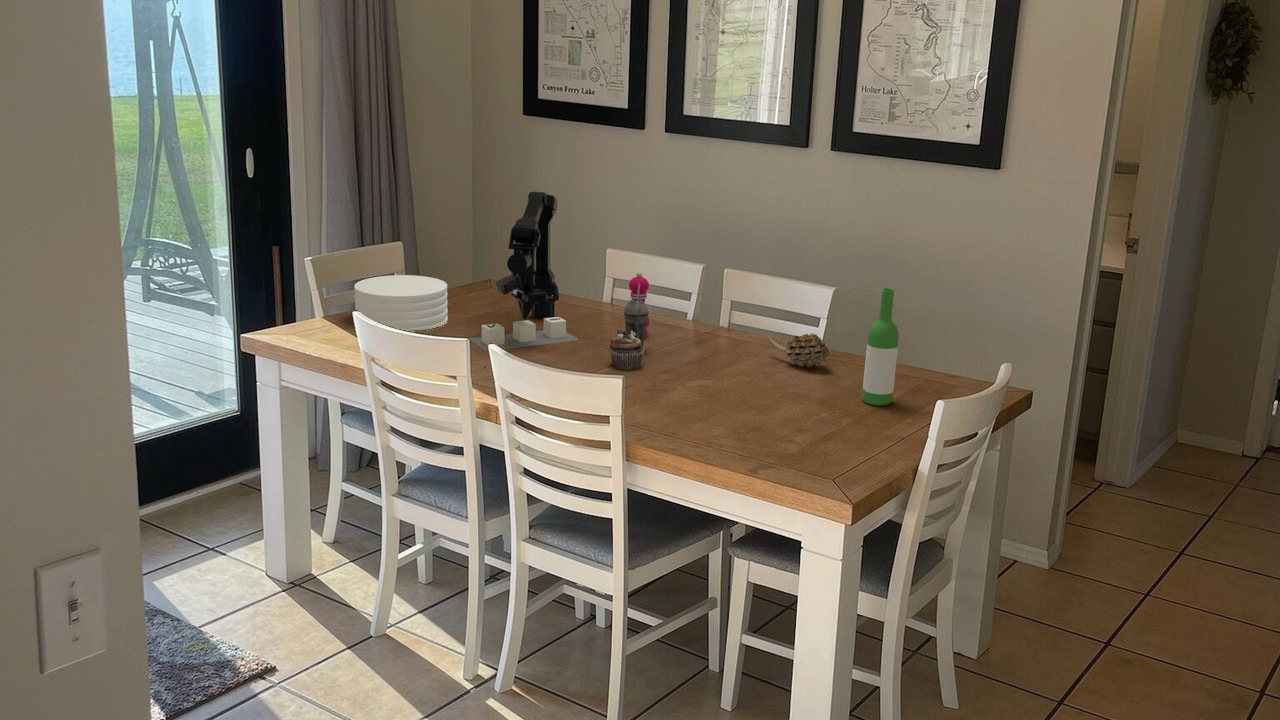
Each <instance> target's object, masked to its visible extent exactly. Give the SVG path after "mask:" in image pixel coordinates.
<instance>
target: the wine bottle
mask: <svg viewBox="0 0 1280 720" xmlns="http://www.w3.org/2000/svg"><path fill="white" fill-rule="evenodd" d="M894 293H895V290H894V289H893V288H888V287H887V288H883V289H882V290H881V300H880V308H879V316H878V319H877V320H876V321H874V322H873V323H872V324H871V325H870V327H869V329H868V334H867V342H866V352H865V362H864V363H865V364H864V372H863V382H862V395H861V398H862V401H863V402H864V403H866V404H868V405H871V406H879V407H882V406H883V407H884V406H888V405H889V404H891V403H892V401H893V397H894V395H893V394H894V388H895V378H896V367H897V360H898V349H899V340H900V339H899V338H900V337H899V336H900V333H899V332H900V331H899V329H898V327H897V325H896V324H895V323H894V322H893V321H892V320H893V319H892V316H893V305H894Z"/></svg>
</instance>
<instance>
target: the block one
mask: <svg viewBox="0 0 1280 720" xmlns="http://www.w3.org/2000/svg"><path fill="white" fill-rule="evenodd" d="M543 330H544V332H543V335H545V336H547V337H549V338H550V339H553V338H562V337H566V332H567V320H565V319H564V318H561V317H560V316H555V317H553V318H544V319H543Z"/></svg>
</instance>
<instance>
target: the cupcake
mask: <svg viewBox="0 0 1280 720" xmlns="http://www.w3.org/2000/svg"><path fill="white" fill-rule="evenodd" d="M635 335H636V334H635V332H634V330H629V331H628V332H627V331H626V330H624V331H623V330H620V329H618V330H616V333H615V336H613V337H612V338H611V340H610V345H609V353H610V359H611V363H612V367H614V368H616V369H619V370H625V369H632V370H637V369H639V367H640V368H641V366H642V363H643V357H644V353H645V348H644V346H643V347H642V345H641V341H640V339H638V338H636V337H635ZM636 368H637V369H636Z"/></svg>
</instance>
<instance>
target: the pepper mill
mask: <svg viewBox="0 0 1280 720" xmlns="http://www.w3.org/2000/svg"><path fill="white" fill-rule="evenodd" d="M638 284H640V289H639V299H640V300H642V301H643V302H644V303H645V304H646V299H647V297H648V293H647V292H648V290H649V288H650V283H649V281H648V279H647V278H646V277H643V273H642V272H641V271H638V272H636V276H634V277H632V278H631V279H630V281H629V283H628V287H629V290H630V295H629V297H630V298H631V300H633V299H637V292H638ZM649 317H650V316H648V318H647V321H646V328H645V336H644V339H646V338H648V329H647V328H648V327H649V326H650V318H649Z"/></svg>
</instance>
